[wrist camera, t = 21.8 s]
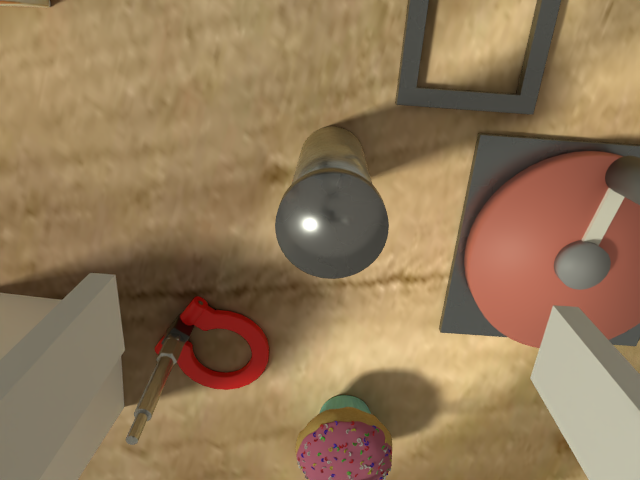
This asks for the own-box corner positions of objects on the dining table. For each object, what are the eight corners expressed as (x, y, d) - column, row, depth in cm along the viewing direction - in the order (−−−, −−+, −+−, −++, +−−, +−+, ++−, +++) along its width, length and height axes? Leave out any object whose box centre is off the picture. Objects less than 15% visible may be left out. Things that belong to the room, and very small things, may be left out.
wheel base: (478, 133, 34) (480, 134, 33) (709, 149, 34) (715, 151, 33) (439, 328, 41) (440, 332, 40) (631, 342, 41) (636, 346, 40)
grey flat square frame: (415, -54, 29) (417, -56, 29) (566, -43, 29) (571, -45, 29) (395, 103, 33) (396, 104, 33) (528, 112, 33) (533, 114, 33)
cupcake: (404, 421, 45) (428, 545, 34) (334, 458, 47) (335, 586, 36) (353, 363, 43) (360, 477, 32) (281, 406, 45) (264, 526, 34)
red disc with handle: (611, 354, 40) (665, 414, 34) (436, 313, 39) (456, 368, 33) (720, 177, 34) (812, 210, 27) (514, 122, 33) (559, 143, 26)
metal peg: (298, 119, 34) (277, 169, 21) (371, 125, 34) (395, 178, 21) (294, 190, 36) (273, 274, 23) (364, 195, 36) (381, 282, 23)
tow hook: (288, 339, 42) (201, 285, 40) (277, 461, 31) (153, 395, 28) (236, 394, 45) (151, 347, 43) (208, 526, 33) (89, 471, 31)
